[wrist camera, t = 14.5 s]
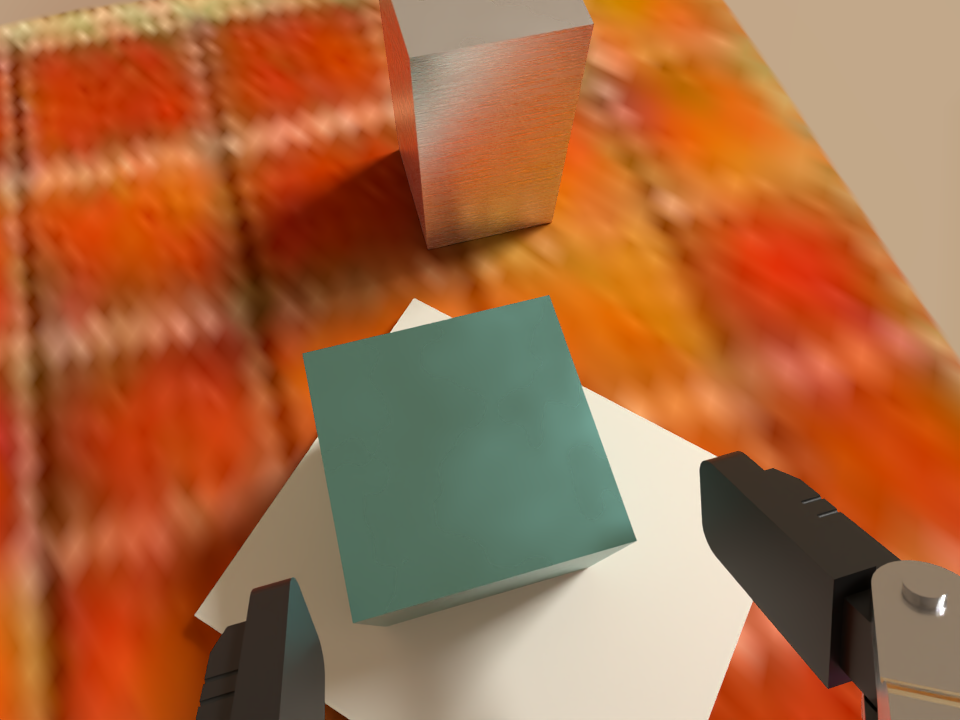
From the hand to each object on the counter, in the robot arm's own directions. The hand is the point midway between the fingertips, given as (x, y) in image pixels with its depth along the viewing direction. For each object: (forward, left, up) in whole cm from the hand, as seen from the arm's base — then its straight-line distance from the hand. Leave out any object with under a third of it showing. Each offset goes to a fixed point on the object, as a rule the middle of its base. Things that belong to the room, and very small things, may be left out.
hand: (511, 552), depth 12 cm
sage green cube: (-2, +2, -7) cm, 8 cm away
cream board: (0, +1, -8) cm, 8 cm away
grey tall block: (-8, +13, -8) cm, 17 cm away
